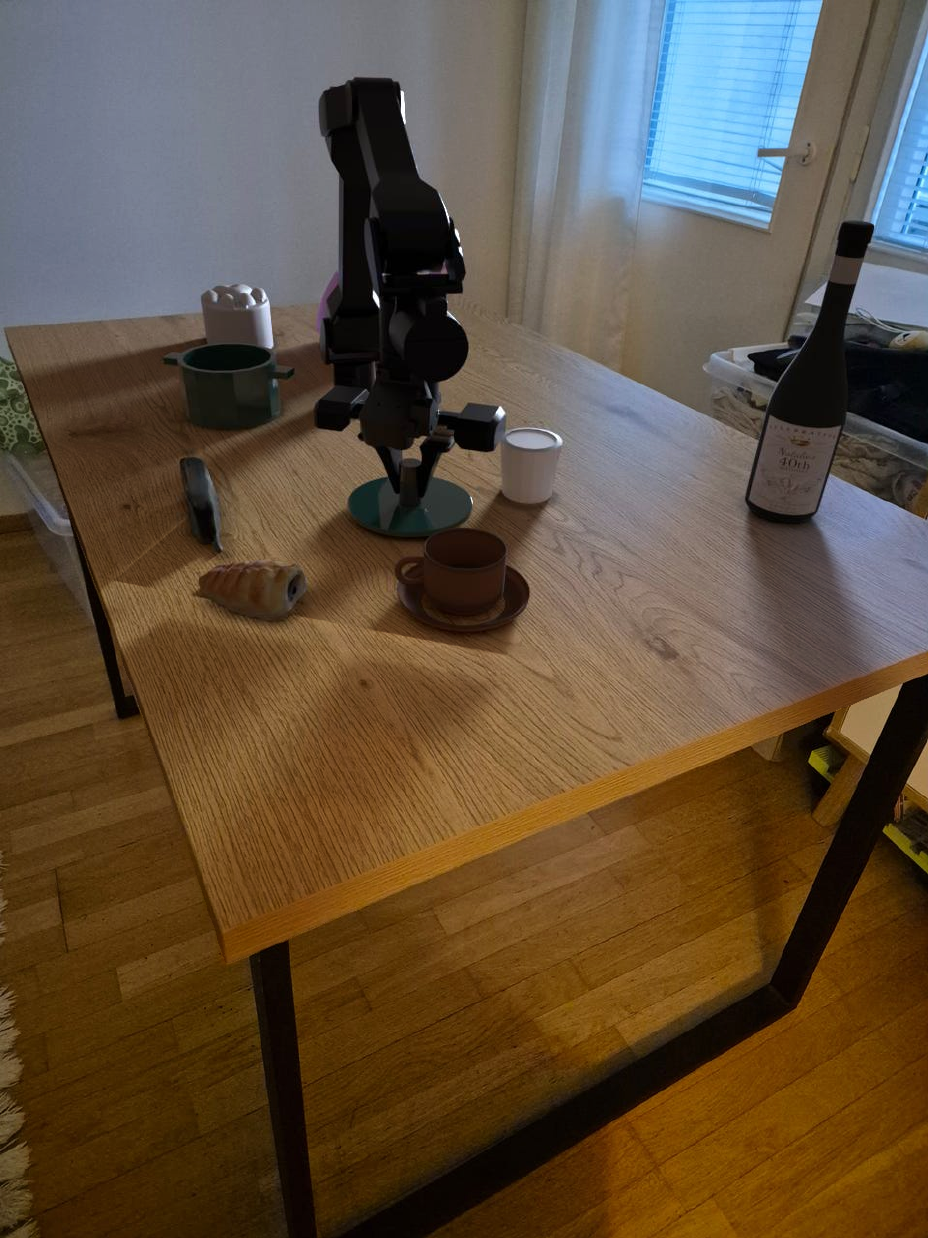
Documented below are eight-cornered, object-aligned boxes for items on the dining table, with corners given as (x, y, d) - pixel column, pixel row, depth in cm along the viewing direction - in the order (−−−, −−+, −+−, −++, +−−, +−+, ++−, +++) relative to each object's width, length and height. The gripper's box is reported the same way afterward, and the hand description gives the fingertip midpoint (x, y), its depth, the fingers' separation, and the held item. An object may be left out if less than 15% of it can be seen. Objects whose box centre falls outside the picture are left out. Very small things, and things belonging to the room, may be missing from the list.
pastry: (187, 610, 75) (180, 574, 73) (221, 573, 81) (216, 538, 79) (286, 626, 74) (283, 589, 72) (314, 587, 79) (311, 551, 77)
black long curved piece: (174, 454, 91) (191, 512, 80) (202, 451, 92) (223, 508, 81) (181, 496, 94) (199, 558, 82) (209, 492, 95) (230, 553, 83)
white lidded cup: (562, 489, 98) (569, 432, 94) (548, 514, 93) (554, 455, 89) (506, 479, 100) (510, 422, 96) (488, 503, 95) (492, 444, 91)
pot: (198, 389, 121) (190, 336, 117) (313, 404, 118) (309, 350, 114) (150, 419, 111) (139, 363, 107) (274, 437, 108) (268, 379, 104)
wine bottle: (814, 532, 92) (906, 233, 75) (739, 518, 94) (812, 224, 77) (816, 501, 98) (901, 219, 81) (746, 489, 100) (814, 211, 83)
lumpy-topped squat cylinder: (266, 331, 145) (260, 278, 140) (279, 354, 135) (274, 298, 130) (203, 335, 142) (196, 281, 137) (213, 359, 132) (205, 302, 127)
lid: (373, 477, 98) (372, 430, 95) (485, 494, 95) (488, 446, 92) (328, 530, 87) (324, 479, 84) (453, 551, 84) (454, 499, 81)
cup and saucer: (426, 657, 71) (426, 595, 68) (379, 585, 80) (378, 527, 76) (551, 627, 75) (558, 568, 72) (494, 562, 84) (497, 507, 81)
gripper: (284, 361, 76) (297, 514, 85) (483, 386, 73) (476, 544, 82) (331, 327, 85) (339, 470, 94) (511, 349, 82) (502, 494, 91)
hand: (410, 494), depth 90 cm, fingers closed on lid, 2 cm apart
